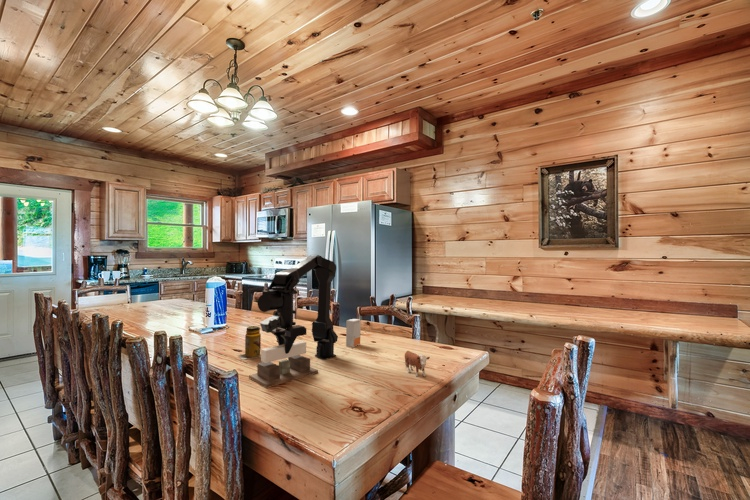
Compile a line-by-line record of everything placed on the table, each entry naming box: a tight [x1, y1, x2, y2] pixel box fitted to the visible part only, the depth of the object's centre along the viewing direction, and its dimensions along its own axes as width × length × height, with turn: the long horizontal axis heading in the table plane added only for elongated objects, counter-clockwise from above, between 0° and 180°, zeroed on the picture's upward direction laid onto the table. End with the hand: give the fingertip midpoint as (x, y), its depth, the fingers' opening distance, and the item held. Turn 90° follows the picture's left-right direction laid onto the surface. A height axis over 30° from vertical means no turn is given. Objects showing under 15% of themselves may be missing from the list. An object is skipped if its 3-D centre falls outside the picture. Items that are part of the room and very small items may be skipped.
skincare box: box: [345, 318, 362, 348], centre depth 162 cm, size 6×4×12 cm
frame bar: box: [260, 340, 307, 363], centre depth 121 cm, size 16×3×4 cm, turn 135°
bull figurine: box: [404, 350, 431, 378], centre depth 123 cm, size 4×13×8 cm, turn 25°
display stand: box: [248, 354, 319, 389], centre depth 121 cm, size 20×12×5 cm, turn 135°
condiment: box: [237, 325, 262, 361], centre depth 144 cm, size 7×8×12 cm
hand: (284, 352), depth 121 cm, fingers closed on frame bar, 3 cm apart
